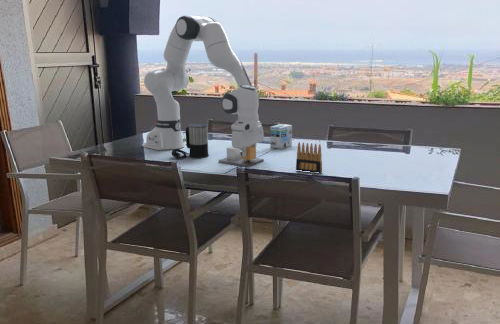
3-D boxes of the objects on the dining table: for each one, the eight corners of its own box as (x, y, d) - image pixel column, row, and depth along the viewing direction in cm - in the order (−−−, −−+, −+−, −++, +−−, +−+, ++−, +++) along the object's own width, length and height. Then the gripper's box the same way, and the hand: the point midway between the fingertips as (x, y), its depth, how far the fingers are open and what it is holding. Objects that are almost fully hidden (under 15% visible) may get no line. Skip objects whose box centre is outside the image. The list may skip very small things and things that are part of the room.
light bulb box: (280, 149, 233) (281, 127, 230) (269, 147, 237) (269, 126, 234) (292, 145, 241) (292, 124, 239) (281, 144, 245) (281, 123, 243)
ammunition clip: (322, 173, 188) (322, 143, 186) (320, 174, 187) (321, 144, 184) (297, 169, 194) (297, 141, 191) (295, 171, 192) (296, 142, 189)
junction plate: (218, 162, 207) (218, 149, 206) (234, 157, 217) (233, 144, 215) (248, 167, 199) (248, 153, 197) (263, 161, 208) (263, 148, 207)
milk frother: (213, 155, 221) (212, 124, 218) (191, 162, 208) (190, 129, 205) (189, 152, 229) (188, 121, 225) (167, 158, 216) (165, 126, 212)
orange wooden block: (241, 158, 204) (241, 147, 203) (247, 156, 208) (247, 145, 207) (250, 160, 202) (250, 148, 201) (255, 158, 206) (255, 146, 205)
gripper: (255, 119, 212) (255, 149, 215) (228, 126, 195) (229, 158, 198) (267, 120, 208) (267, 151, 212) (241, 127, 192) (241, 160, 195)
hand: (248, 154), depth 205 cm, fingers closed on orange wooden block, 4 cm apart
